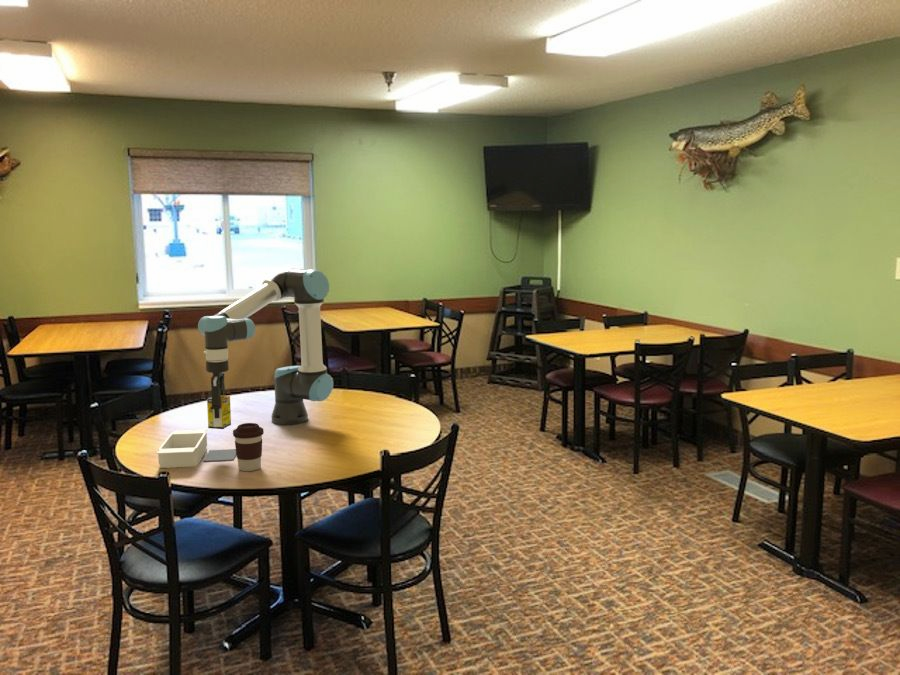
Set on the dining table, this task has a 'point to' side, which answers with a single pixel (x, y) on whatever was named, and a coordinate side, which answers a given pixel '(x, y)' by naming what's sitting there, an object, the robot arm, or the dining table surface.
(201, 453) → the carton
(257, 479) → the dining table surface
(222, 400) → the supplement box
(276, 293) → the robot arm
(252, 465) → the coffee cup
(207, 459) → the mat
